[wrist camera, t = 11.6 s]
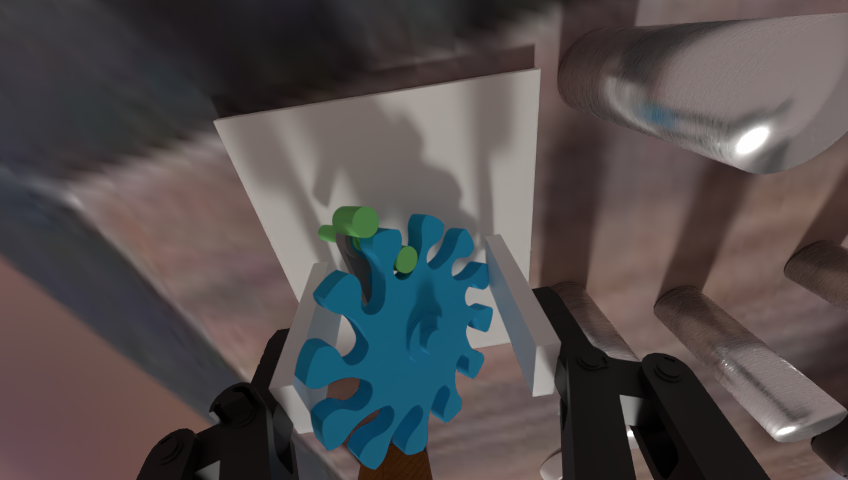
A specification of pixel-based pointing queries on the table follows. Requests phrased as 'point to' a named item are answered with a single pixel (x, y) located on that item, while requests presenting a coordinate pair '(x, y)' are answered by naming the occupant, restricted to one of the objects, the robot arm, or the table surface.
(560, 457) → the hook
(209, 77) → the table surface
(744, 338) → the spacer posts
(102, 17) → the table surface
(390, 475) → the disposable coffee cup
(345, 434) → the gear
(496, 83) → the rubber mat
